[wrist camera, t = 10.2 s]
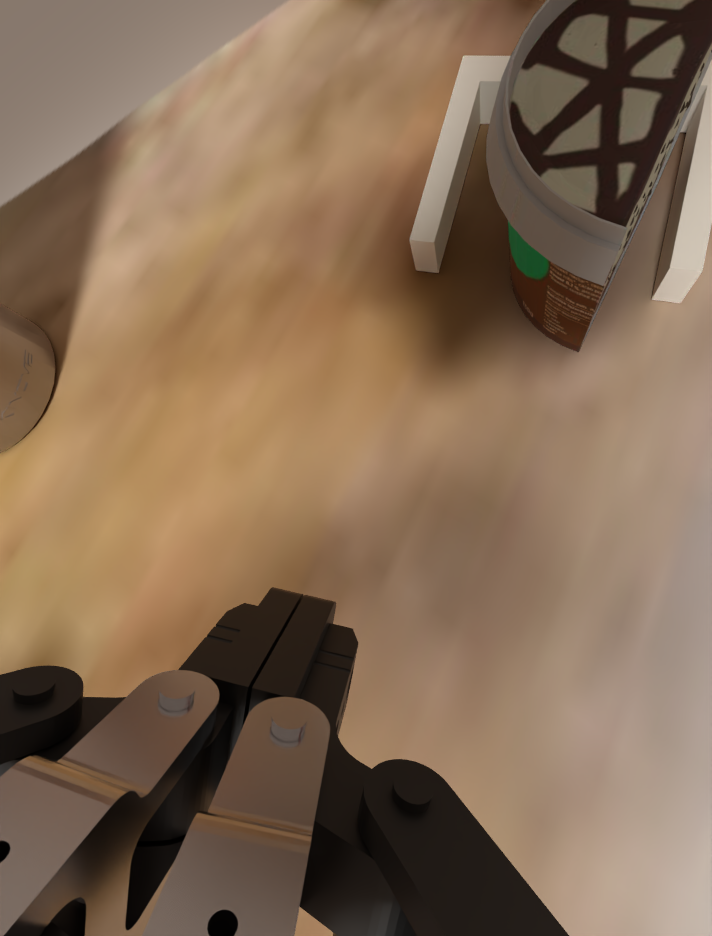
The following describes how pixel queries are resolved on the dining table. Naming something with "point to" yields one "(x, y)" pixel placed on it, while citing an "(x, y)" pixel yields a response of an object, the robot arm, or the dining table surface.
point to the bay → (701, 167)
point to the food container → (588, 143)
